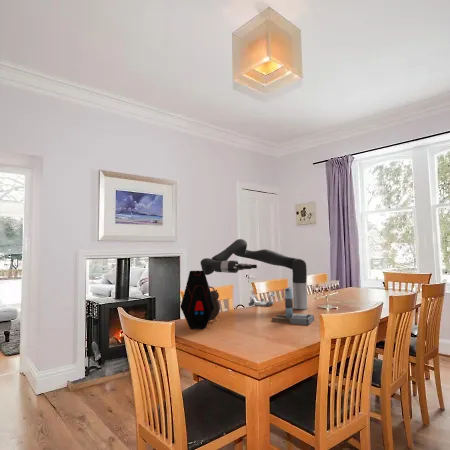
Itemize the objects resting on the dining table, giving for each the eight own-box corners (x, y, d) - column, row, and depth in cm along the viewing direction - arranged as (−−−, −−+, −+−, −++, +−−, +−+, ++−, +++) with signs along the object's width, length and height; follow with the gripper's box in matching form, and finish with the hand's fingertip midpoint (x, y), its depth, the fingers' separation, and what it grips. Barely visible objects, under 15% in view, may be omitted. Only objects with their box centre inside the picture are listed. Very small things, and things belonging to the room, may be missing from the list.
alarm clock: (221, 320, 195) (220, 285, 196) (219, 323, 188) (218, 286, 189) (196, 320, 197) (196, 285, 199) (193, 323, 190) (192, 287, 191)
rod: (287, 319, 194) (286, 287, 196) (294, 320, 193) (293, 287, 194) (284, 321, 189) (283, 288, 190) (291, 322, 187) (290, 288, 188)
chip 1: (294, 320, 192) (293, 313, 192) (301, 321, 190) (300, 313, 190) (292, 322, 188) (291, 314, 188) (299, 322, 186) (299, 315, 186)
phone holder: (276, 291, 248) (273, 293, 237) (276, 304, 248) (273, 307, 237) (252, 290, 254) (248, 292, 243) (252, 303, 254) (248, 306, 243)
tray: (296, 318, 196) (296, 313, 196) (314, 320, 191) (314, 314, 191) (290, 323, 184) (289, 317, 184) (308, 325, 179) (308, 319, 180)
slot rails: (277, 317, 199) (277, 314, 200) (296, 319, 194) (296, 315, 195) (271, 321, 190) (271, 317, 190) (290, 322, 185) (290, 319, 185)
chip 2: (301, 321, 190) (300, 313, 190) (308, 321, 188) (308, 314, 188) (299, 322, 186) (299, 315, 186) (306, 323, 184) (306, 315, 185)
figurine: (217, 326, 182) (216, 269, 184) (215, 329, 174) (214, 270, 176) (183, 326, 183) (182, 270, 186) (180, 329, 176) (179, 271, 178)
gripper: (234, 271, 216) (258, 272, 209) (224, 273, 204) (249, 274, 196) (234, 260, 217) (258, 260, 209) (224, 261, 204) (248, 261, 197)
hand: (253, 266), depth 203 cm, fingers open, 8 cm apart
